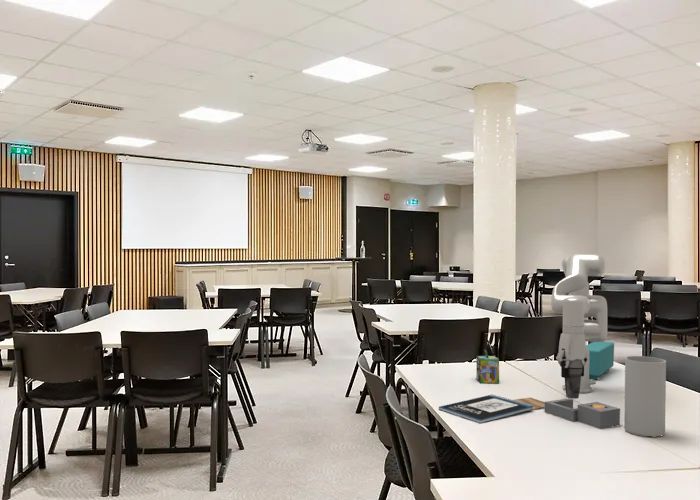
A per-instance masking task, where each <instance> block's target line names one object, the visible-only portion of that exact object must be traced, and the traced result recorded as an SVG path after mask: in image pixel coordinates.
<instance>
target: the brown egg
mask: <svg viewBox="0 0 700 500" xmlns="http://www.w3.org/2000/svg"><path fill="white" fill-rule="evenodd" d="M593 407H594V408H597V409H603V408H605V406H603V405H599V404H594V405H593Z"/></svg>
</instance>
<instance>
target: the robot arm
mask: <svg viewBox="0 0 700 500" xmlns="http://www.w3.org/2000/svg"><path fill="white" fill-rule="evenodd" d="M561 266H562V270H563V273H564V275H565V277H564V278H562V279H561V280H559V282H557V283H556V284H555V285H554V287H553V289H552V293H551V301H550V306H551V309H552V312H554V313H555V314H559V315H560V314H561V315H562V333H560V338H559V343H558V354H557V356H555V360H556V361H557V363H558V364H559V366H560V367H561V368H560V376H561V378H563V379H565V378H567V379H568V378H569V368H568V365H569V362H570V361H573V360H576V359H580V360H581V362H582V365H583V369H582V373H581V383H580V392H579V394H587V393H589V392H590V393H592V392H593V387H591V386H593V385H596V384H597V380H590V379H589V349H588V348H587V346H586V345H587V344H586V342H591V343H592V342H603V341H604V342H606V340H607V337H608V302H607V299H606V297H604V296H602V295H595V294H593V295H591V294H590V283H589V282H588V280H589V279H588V277H602V276H603V275H604V273H605V271H606V263H605V259H604V256H603V255H601V254H598V253H574V254H571V255H569V256H567V257H564V258H563V259H562V262H561ZM585 317H589V318H595V319H596V320H595V319H585ZM565 361H566V363H564V362H565ZM562 390H564V391H565V384H563V385H562ZM590 393H589V394H590Z"/></svg>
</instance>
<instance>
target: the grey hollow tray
mask: <svg viewBox="0 0 700 500" xmlns="http://www.w3.org/2000/svg"><path fill="white" fill-rule="evenodd" d="M544 402H545V408H544V413H546V414H547V415H551V416H555V417H557V418H560V419H564V420H566V421H569V422H572V423H575V422H578V423H580V424H584V425H588V426H591V427H593V428H597V429H599V430H601V429H606V428H607V429H608V428H612V426H613V427H618V426H617V425H619V426H621V408H620V407H616V406H613V405H609V404H605V403H601V402H598V401H594V402H588V403H581V404H577V408H574V399H572V398H561V399H555V400H549V401H544ZM594 404H599V405H603V406H605V408H603V409H597V408H594V407H593V405H594Z"/></svg>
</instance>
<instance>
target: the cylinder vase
mask: <svg viewBox="0 0 700 500" xmlns="http://www.w3.org/2000/svg"><path fill="white" fill-rule="evenodd" d="M624 360H625V361H624V419H623V420H624V422H623V423H624V424H623V425H624V426H623V427H624V430H625V431H626V432H628V433H629V432H630V433H629V434H632V435H635V434H636V435H635V436H639V435H641V436H640V437H644V436H661V435H663V436H665V434H666V393H667V392H666V391H667V389H666V387H667V385H666V384H667V380H666V379H667V377H666V376H667V360H666V359H663V358H659V357H653V356H644V355H631V356H629V355H627V356H625V359H624ZM661 437H662V436H661Z"/></svg>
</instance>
